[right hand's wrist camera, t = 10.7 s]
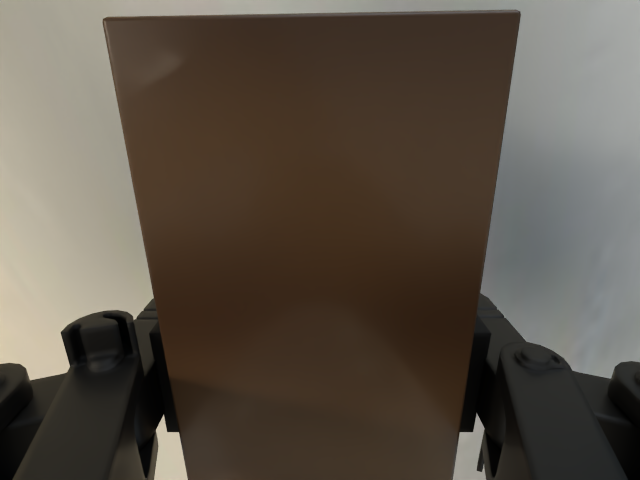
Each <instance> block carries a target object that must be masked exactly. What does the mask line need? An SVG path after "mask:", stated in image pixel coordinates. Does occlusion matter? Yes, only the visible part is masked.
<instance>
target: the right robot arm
mask: <svg viewBox="0 0 640 480" xmlns="http://www.w3.org/2000/svg"><path fill="white" fill-rule="evenodd" d="M61 335H62V339H63V342H64V346H65V350H66V353H67V357H68V360H69V364H70V368H69V370H68V372H67V373H64V374H60V375H55V376H50V377H45V378H40V379H35V380H30V379H29V376H28V373H27V370H26V368H25V367H23V366H22V365H20V364H14V363H6V364H0V480H154V475H155V467H156V460H157V452H158V440H157V434H156V428H157V426H158V424H159V422H160V420H161V418H162V416H163V415H164V417H165V422H166V427H167V432H179V428H178V423H177V418H176V412H175V407H174V402H173V396H172V391H171V386H170V380H169V375H168V370H167V364H166V359H165V353H164V348H163V343H162V337H161V332H160V327H159V321H158V316H157V311H156V305H155V300H154V299H152V300H151V301H150V303H149V304H148V305H147V306H146V307H145V308H144V311H142V312H141V313H140V314H139V315H138V316H137V319H135V320H133V316H132V315H131V314H129V313H128V312H124V311H119V310H113V311H102V312H98V313H93V314H90V315H87V316H85V317H82V318H79V319H77V320H76V321H74V322H72V323H71V324H69V325H67V326H66V328H65V329H64V330H63V331H62V332H61ZM476 413H477V414H478V416H479V418H480V420H481V422H482V424H483V426H484V428H485V429H484V434H483V439H482V444H481V449H480V454H479V459H478V465H477V471H480V472H482V469H483V465H484V466H485V474H486V480H640V362H633V361H630V362H621V363H620V364H618V365H617V366H615V369H614V372H613V375H612V378H611V379H608V378H603V377H598V376H593V375H588V374H583V373H579V372H575V371H572V369H571V367H570V366H569V364H568V363H567V362H566V361H565V360H564V358H562V357H561V356H560V355H558V354H557V353H555V352H554V351H552V350H550V349H548V348H545V347H543V346H541V345H537V344H533V343H529V342H526V341H525V340H524V339H523V337H522V336H521V335H520V334H519V333H518V332H517V330H516V329H515V328H514V327H513V326H512V325H511V324H510V322H509V321H508V320H507V319H506V318H504V316H503V314H502V313H501V312H500V311H499V310H497V308H496V306H495V305H494V304H493V303H492V302H491V301H490V299H489V298H487V297H486V296H484V295H482V294H481V293H480V296H479V303H478V310H477V316H476V323H475V330H474V337H473V344H472V351H471V357H470V364H469V371H468V378H467V385H466V391H465V398H464V405H463V412H462V419H461V426H460V432H473V429H474V424H475V418H476Z"/></svg>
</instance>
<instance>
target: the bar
mask: <svg viewBox="0 0 640 480" xmlns="http://www.w3.org/2000/svg"><path fill="white" fill-rule="evenodd" d="M520 16H521V14H520V11H518V10H471V11H414V12H358V13H301V14H244V15H187V16H130V17H106V18H104V19H103V27H104V32H105V37H106V43H107V48H108V53H109V59H110V64H111V69H112V75H113V80H114V86H115V91H116V96H117V102H118V107H119V112H120V118H121V123H122V128H123V134H124V139H125V144H126V150H127V155H128V161H129V166H130V171H131V177H132V182H133V187H134V193H135V198H136V203H137V209H138V214H139V220H140V225H141V230H142V236H143V241H144V246H145V252H146V257H147V262H148V268H149V273H150V278H151V284H152V289H153V295H154V300H155V305H156V311H157V316H158V321H159V327H160V332H161V337H162V343H163V348H164V353H165V359H166V364H167V370H168V375H169V380H170V386H171V391H172V396H173V402H174V407H175V412H176V418H177V423H178V428H179V434H180V439H181V445H182V450H183V455H184V461H185V466H186V471H187V477H188V480H453V473H454V466H455V460H456V453H457V446H458V439H459V432H460V426H461V419H462V412H463V405H464V398H465V391H466V385H467V378H468V371H469V364H470V357H471V351H472V344H473V337H474V330H475V323H476V316H477V310H478V303H479V296H480V289H481V282H482V276H483V269H484V262H485V255H486V248H487V241H488V235H489V228H490V221H491V214H492V207H493V201H494V194H495V187H496V180H497V173H498V166H499V160H500V153H501V146H502V139H503V132H504V126H505V119H506V112H507V105H508V98H509V91H510V85H511V78H512V71H513V64H514V57H515V51H516V44H517V37H518V30H519V23H520Z"/></svg>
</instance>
